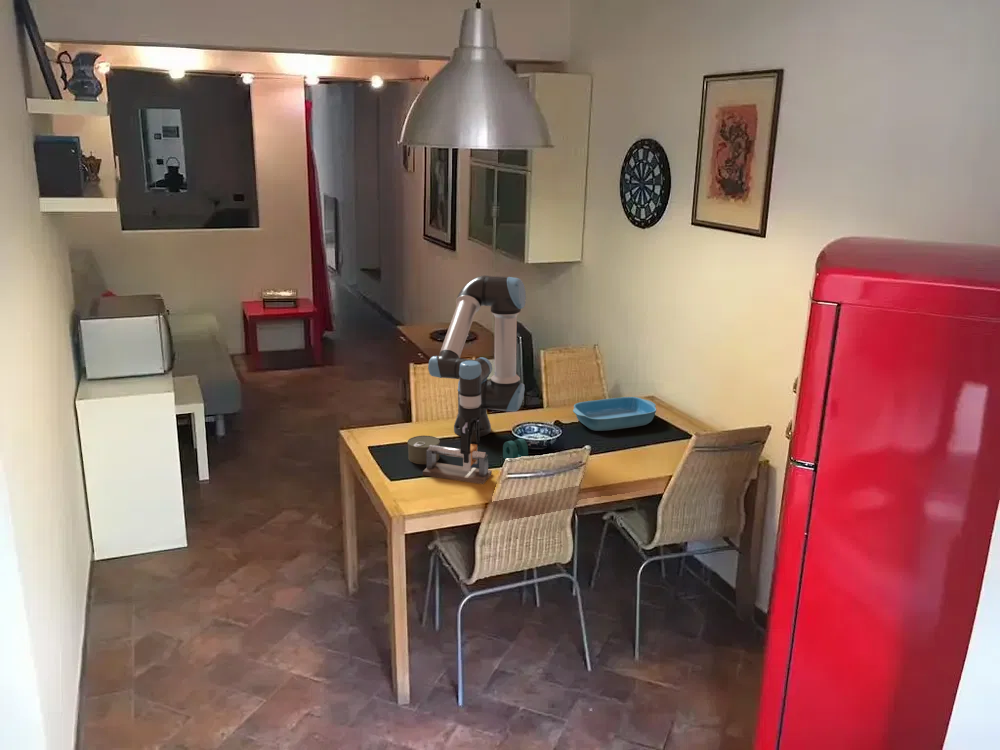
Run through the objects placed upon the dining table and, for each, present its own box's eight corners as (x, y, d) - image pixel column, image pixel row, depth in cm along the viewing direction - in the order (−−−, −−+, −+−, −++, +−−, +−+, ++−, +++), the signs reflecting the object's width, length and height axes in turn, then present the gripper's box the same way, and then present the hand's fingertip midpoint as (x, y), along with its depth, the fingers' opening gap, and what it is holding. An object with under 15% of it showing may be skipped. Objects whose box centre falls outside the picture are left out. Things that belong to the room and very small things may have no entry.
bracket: (502, 458, 312) (503, 439, 310) (517, 455, 316) (518, 436, 313) (530, 475, 298) (530, 455, 295) (545, 471, 301) (545, 451, 299)
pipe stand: (432, 465, 305) (432, 440, 302) (491, 474, 298) (491, 448, 295) (422, 475, 297) (422, 448, 294) (483, 484, 290) (483, 457, 287)
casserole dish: (586, 436, 335) (586, 419, 333) (563, 418, 356) (564, 402, 353) (665, 426, 348) (666, 410, 345) (639, 409, 368) (640, 394, 366)
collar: (469, 458, 297) (469, 443, 295) (477, 459, 296) (477, 444, 295) (463, 464, 292) (463, 449, 290) (471, 465, 291) (471, 450, 289)
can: (446, 456, 314) (446, 439, 312) (427, 467, 304) (427, 449, 302) (420, 449, 320) (420, 433, 318) (401, 460, 310) (401, 443, 308)
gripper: (469, 396, 297) (469, 455, 304) (450, 412, 280) (450, 475, 287) (489, 398, 295) (488, 458, 302) (471, 415, 278) (471, 478, 285)
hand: (470, 466), depth 295 cm, fingers closed on collar, 6 cm apart
